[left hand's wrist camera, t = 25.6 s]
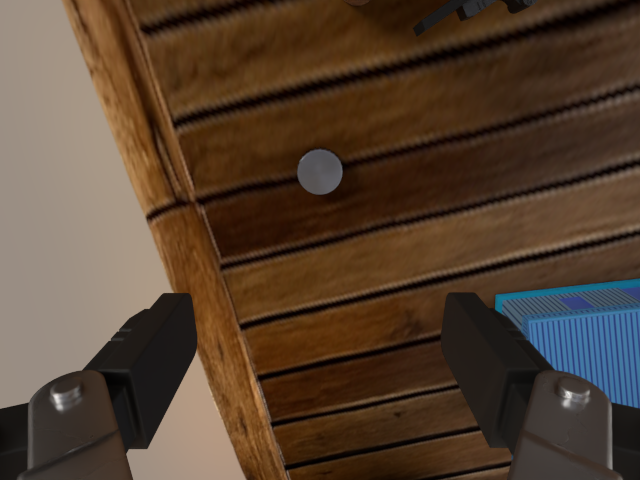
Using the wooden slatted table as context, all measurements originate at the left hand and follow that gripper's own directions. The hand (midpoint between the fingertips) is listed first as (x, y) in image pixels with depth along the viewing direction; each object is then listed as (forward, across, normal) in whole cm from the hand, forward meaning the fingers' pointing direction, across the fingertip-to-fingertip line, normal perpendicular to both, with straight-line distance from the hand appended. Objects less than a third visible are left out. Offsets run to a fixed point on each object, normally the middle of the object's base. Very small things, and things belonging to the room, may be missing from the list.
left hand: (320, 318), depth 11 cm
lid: (+28, 0, 0) cm, 28 cm away
